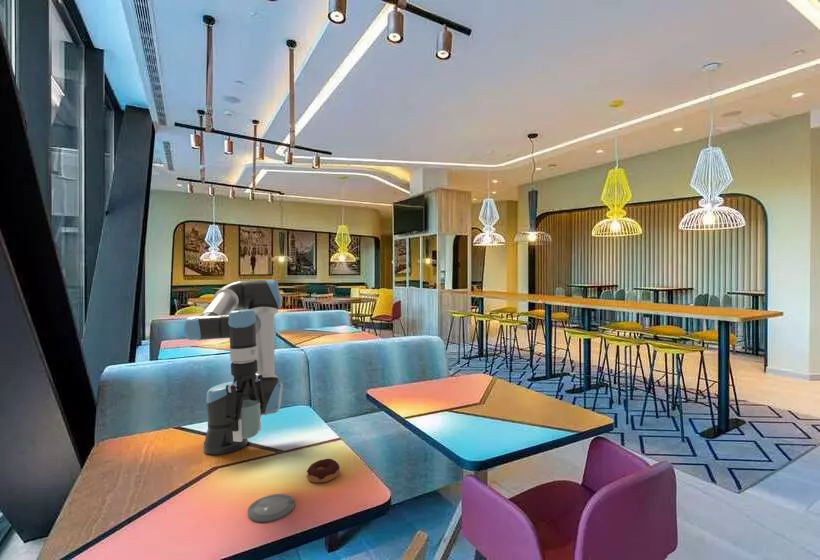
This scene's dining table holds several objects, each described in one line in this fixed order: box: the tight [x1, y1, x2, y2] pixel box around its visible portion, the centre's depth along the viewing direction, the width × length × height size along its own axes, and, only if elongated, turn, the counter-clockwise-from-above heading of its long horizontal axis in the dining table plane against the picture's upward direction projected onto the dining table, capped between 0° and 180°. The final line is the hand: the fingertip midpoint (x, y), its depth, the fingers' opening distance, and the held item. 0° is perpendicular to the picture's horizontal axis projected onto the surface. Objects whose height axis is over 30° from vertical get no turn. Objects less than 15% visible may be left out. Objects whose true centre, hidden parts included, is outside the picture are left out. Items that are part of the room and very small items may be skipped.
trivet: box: [247, 493, 296, 523], centre depth 110 cm, size 12×12×1 cm
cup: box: [235, 400, 262, 439], centre depth 123 cm, size 8×8×10 cm
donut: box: [306, 458, 340, 484], centre depth 127 cm, size 10×10×4 cm
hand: (247, 435), depth 123 cm, fingers closed on cup, 8 cm apart
